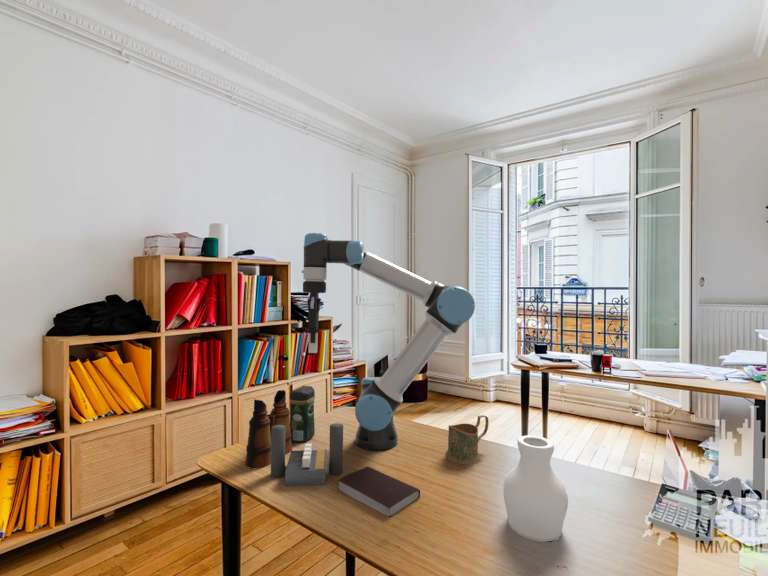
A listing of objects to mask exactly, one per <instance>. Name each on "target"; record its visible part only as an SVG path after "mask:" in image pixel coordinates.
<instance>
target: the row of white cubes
mask: <svg viewBox="0 0 768 576" xmlns="http://www.w3.org/2000/svg"><path fill="white" fill-rule="evenodd" d="M312 450H313V443H305V445H304V454H303V459H302V468H303V467H310V460H311V454H312Z"/></svg>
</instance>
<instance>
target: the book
mask: <svg viewBox="0 0 768 576" xmlns="http://www.w3.org/2000/svg"><path fill="white" fill-rule="evenodd" d="M337 481H338V487H337V490H338V491H339V492H341V493H342V494H345V495H347V496H349V497H350V498H353V499H355V500H356V501H359V502H360V503H362V504H365V505H366V506H369V507H371V508H372V509H374V510H375V511H378V512H380V513H381V514H383V515H385V516H386V517H387V518H391V517H392V515H393V516H394V514H397V512H399V511H400V510H402V509H404V508H405V507H407V506H408V505H409V504H411V503H412V502H414V501H415V500H417V499H420V497H421V490H420V489H419V488H418V487H415V486H413V485H410V484H408V483H406V482H404V481H401V480H399V479H396V478H395V477H393V476H391V475H388V474H385V473H383V472H381V471H380V470H377V469H374V468H372V467H370V466H365V467H363V468H361V469H358V470H355V471H353V472H351V473H348V474H346V475H344V476H342V477H340V478H339V479H337Z"/></svg>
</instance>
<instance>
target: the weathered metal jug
mask: <svg viewBox="0 0 768 576" xmlns="http://www.w3.org/2000/svg"><path fill="white" fill-rule="evenodd" d="M481 418H482V419H483V418H484V420H485V426H484V430H483V432H482V433H481V434H479V428H478V427H479V426H480V424H481ZM488 429H489V417H488V416H486V415H477V421H476V424H475V425H474V424H471V423H458V424H454V425H453V424H452V425H451V424H450V425H448V437H447V439H448V443H447V446H448V447H447V450H446V451H445V454H444V457H445V458H446V459H448V461H450V462H452V463H456V464H460V465H474V464H477V463H479V462H480V461H481V458H482V457H481V454H480V453H479V444H478V443H479V442H480V440H481V439H482V438H483V437H484V436H485V435H486V434H487V432H488Z"/></svg>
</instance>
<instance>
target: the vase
mask: <svg viewBox="0 0 768 576" xmlns="http://www.w3.org/2000/svg"><path fill="white" fill-rule="evenodd" d="M517 448H518V451H519V455H520V456H519V461H518V463H516V465H515V466H514V467H512V469H511V470H509V472H508V473H507V474H506V476H505V478H504V481H503V500H504V505H505V509H506V514H507V524H508V526H509V528H510V529H511V531H513V532H514V533H515V534H517V535H518V536H520V537H522V538H524V539H527V540H529V541H532V542H533V541H534V542H539V543H548V542H547V541H553V540H555V541H557V540H559V539H560V538H561V536H562V535H561V534H563V528H564V527H563V526H564V522H565V518H566V516H567V511H568V507H569V506H568V505H569V499H568V493H567V489H566V487H565V484H564V482H563V481H562V479H561V478H560V476H559V475H558V474H557V473H556V472H555V470H554V469H553V467H552V465H551V459H552V456H553V454H554V451H555V445H554V442H553V441H551V440H550V439H548V438H546V437H542V436H539V435H531V434H530V435H529V434H528V435H522V436H519V437H517ZM559 537H560V538H559ZM558 538H559V539H558ZM556 539H557V540H556ZM553 542H554V541H553Z"/></svg>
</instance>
